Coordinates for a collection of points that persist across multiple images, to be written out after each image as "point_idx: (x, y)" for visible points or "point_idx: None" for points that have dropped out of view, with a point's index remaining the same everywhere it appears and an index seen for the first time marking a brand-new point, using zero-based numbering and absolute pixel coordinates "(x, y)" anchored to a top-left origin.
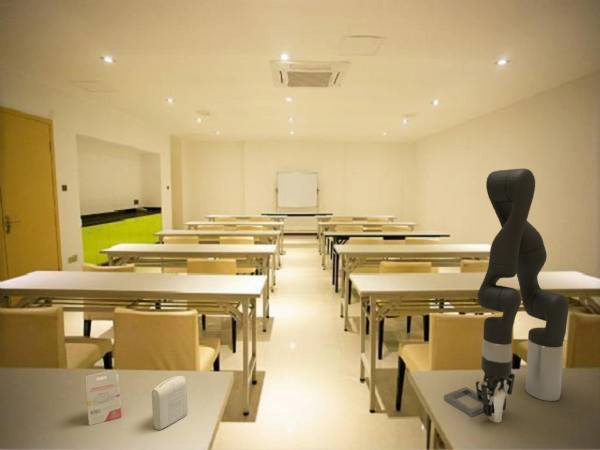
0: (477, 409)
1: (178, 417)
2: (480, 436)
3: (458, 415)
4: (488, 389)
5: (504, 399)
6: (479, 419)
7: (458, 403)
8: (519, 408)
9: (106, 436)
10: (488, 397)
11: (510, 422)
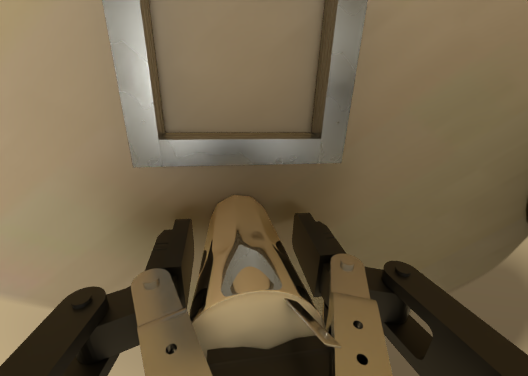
0: (189, 164)
1: None
2: (65, 271)
3: (70, 108)
4: (212, 338)
5: (313, 295)
6: (166, 189)
7: (114, 46)
8: (405, 210)
9: None
10: (194, 298)
11: None
